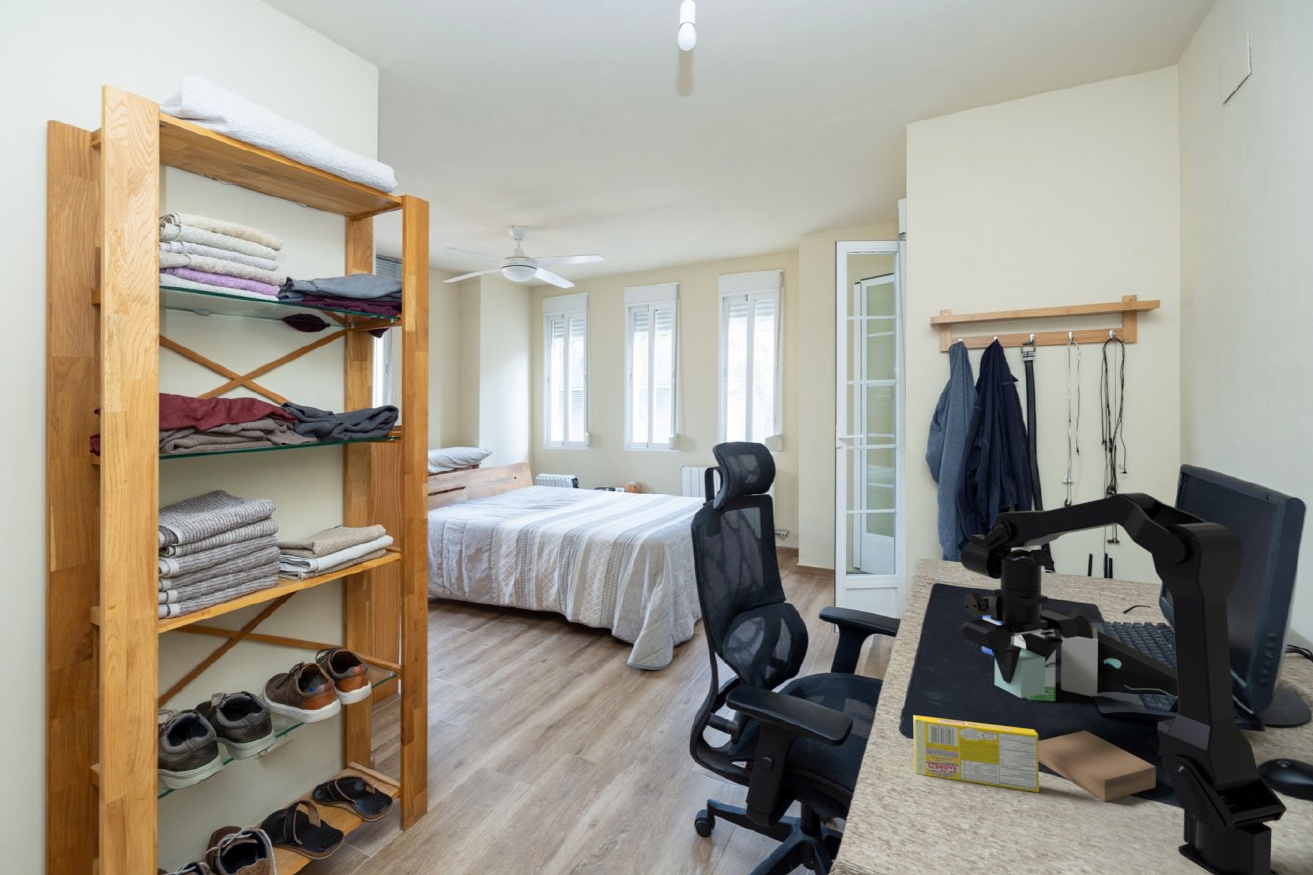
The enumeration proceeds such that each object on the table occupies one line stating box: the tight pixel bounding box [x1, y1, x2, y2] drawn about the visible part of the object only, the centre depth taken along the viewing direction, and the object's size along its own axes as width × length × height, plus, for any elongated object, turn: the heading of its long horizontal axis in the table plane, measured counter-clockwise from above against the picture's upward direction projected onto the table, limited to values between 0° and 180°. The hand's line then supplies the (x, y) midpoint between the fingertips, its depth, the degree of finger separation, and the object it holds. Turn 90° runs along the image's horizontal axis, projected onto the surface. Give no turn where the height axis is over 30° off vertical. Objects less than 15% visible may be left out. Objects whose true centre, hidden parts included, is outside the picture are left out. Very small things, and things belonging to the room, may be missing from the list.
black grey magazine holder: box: [1060, 605, 1178, 698], centre depth 109 cm, size 8×18×15 cm, turn 54°
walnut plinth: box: [1038, 730, 1157, 803], centre depth 85 cm, size 10×10×3 cm
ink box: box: [1014, 635, 1057, 702], centre depth 111 cm, size 9×5×12 cm, turn 168°
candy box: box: [912, 714, 1040, 793], centre depth 84 cm, size 16×2×8 cm, turn 73°
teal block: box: [994, 646, 1045, 699], centre depth 96 cm, size 5×5×6 cm
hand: (1019, 679), depth 96 cm, fingers closed on teal block, 5 cm apart
